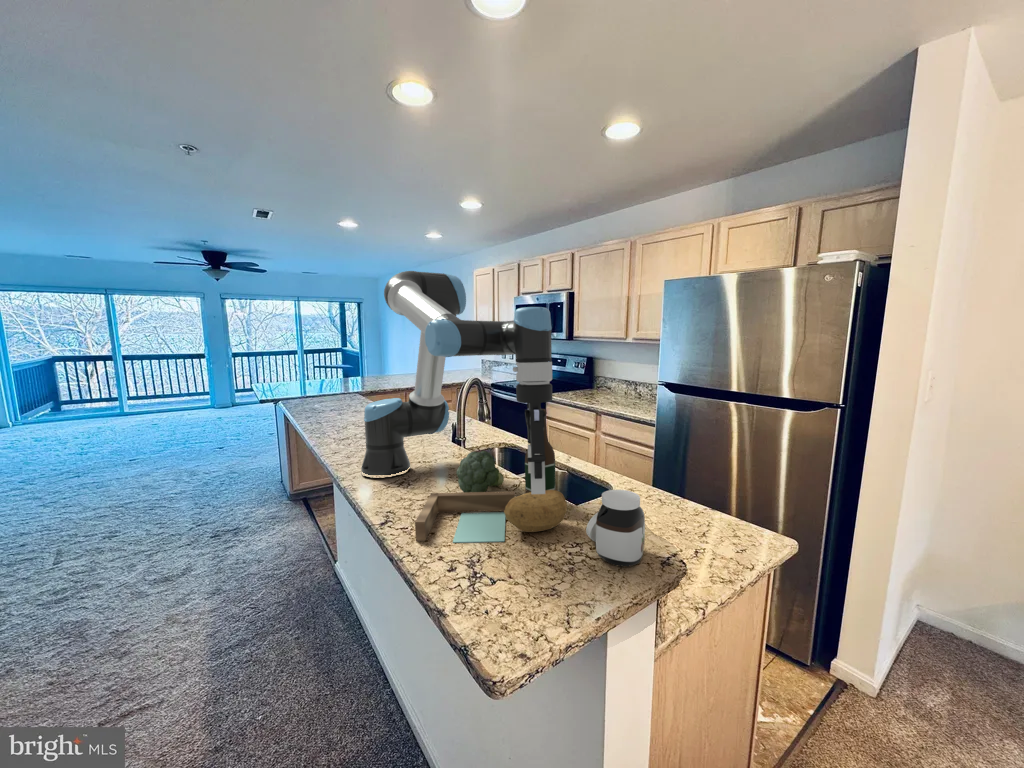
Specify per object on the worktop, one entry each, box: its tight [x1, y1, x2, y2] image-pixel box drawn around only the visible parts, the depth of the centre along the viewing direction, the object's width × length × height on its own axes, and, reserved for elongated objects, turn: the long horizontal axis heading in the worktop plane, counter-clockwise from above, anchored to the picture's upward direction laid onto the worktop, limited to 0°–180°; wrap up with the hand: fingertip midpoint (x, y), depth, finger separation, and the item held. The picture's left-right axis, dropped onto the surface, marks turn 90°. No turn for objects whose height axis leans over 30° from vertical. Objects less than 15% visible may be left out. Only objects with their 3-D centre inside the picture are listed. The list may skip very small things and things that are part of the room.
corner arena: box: [414, 491, 516, 542], centre depth 90 cm, size 16×20×4 cm
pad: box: [452, 511, 506, 544], centre depth 88 cm, size 14×10×1 cm
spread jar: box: [585, 489, 646, 567], centre depth 76 cm, size 12×11×12 cm
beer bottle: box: [524, 408, 557, 494], centre depth 99 cm, size 8×8×24 cm
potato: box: [503, 490, 568, 533], centre depth 86 cm, size 10×14×8 cm
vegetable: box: [455, 450, 505, 493], centre depth 110 cm, size 12×13×15 cm
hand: (536, 482), depth 85 cm, fingers open, 13 cm apart
